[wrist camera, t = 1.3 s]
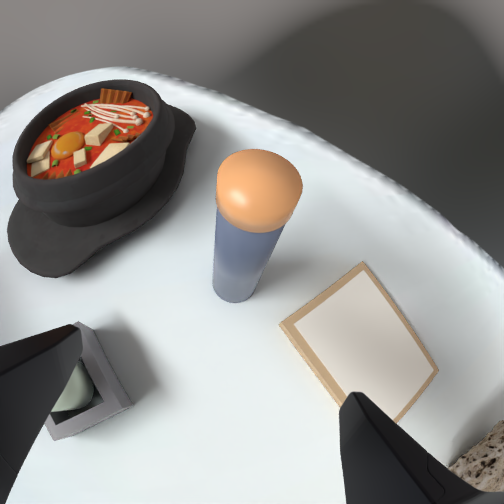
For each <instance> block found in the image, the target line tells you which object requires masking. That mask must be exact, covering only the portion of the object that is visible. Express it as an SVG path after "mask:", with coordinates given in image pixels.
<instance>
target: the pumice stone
mask: <svg viewBox="0 0 504 504" xmlns="http://www.w3.org/2000/svg"><path fill="white" fill-rule="evenodd" d="M448 469H449V470H450V471H452V472H453V473H454V474H456V475H457V476H459V477H460V478H461V479H463V480H464V481H466V482H467V483H469V484H470V485H472V486H473V487H475V488H476V489H479V490H481V491H486V492H500V491H504V420H502V421H499V422H498V423H497V424H496V425H495V426H494V428H493V429H492V432H489V433H488V434H487V435H486V437H485V438H483V440H482V441H481V442H479V443H478V444H477V445H475V446H473V447H472V448H471V449H470V450H469V451H468V452H467V453H466V454H464V455H462V456H461V457H460V458H459V459H458V460H457V462H456V463H455V464H453V465H452V466H450V467H448Z"/></svg>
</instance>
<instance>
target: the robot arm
mask: <svg viewBox="0 0 504 504" xmlns="http://www.w3.org/2000/svg"><path fill="white" fill-rule="evenodd" d="M82 352H83V342H82V333H81V329H80V328H79V327H76V326H74V325H72V324H68V325H65V326H62V327H59V328H56V329H53V330H50V331H47V332H43V333H40V334H37V335H34V336H31V337H28V338H25V339H22V340H18V341H15V342H12V343H9V344H6V345H3V346H0V504H5V503H6V500H7V498H8V496H9V493H10V491H11V489H12V487H13V484H14V482H15V480H16V478H17V476H18V473H19V471H20V469H21V467H22V465H23V463H24V461H25V459H26V457H27V455H28V453H29V451H30V449H31V447H32V445H33V443H34V441H35V439H36V438H37V436H38V434H39V432H40V430H41V428H42V427H43V425H44V423H45V421H46V420H47V418H48V416H49V414H50V413H51V411H52V409H53V407H54V406H55V404H56V402H57V401H58V399H59V397H60V396H61V394H62V392H63V391H64V389H65V387H66V385H67V383H68V381H69V379H70V377H71V375H72V373H73V371H74V369H75V367H76V365H77V363H78V361H79V359H80V357H81V355H82ZM339 426H340V453H341V461H342V469H343V477H344V486H345V495H346V504H504V491H500V492H486V491H481V490H479V489H476V488H475V487H473V486H472V485H470V484H469V483H467V482H466V481H464V480H463V479H461V478H460V477H459V476H457V475H456V474H454V473H453V472H452V471H450V470H449V469H448V468H446V467H445V466H444V465H442V464H441V463H440V462H439V461H438V460H436V459H435V458H434V457H433V456H432V455H431V454H430V453H427V451H426V450H425V449H424V448H423V447H422V446H421V445H419V444H418V443H417V442H416V441H415V440H414V439H413V438H412V437H411V436H410V435H408V434H407V433H406V432H405V431H404V430H403V429H402V428H401V427H400V426H399V425H397V424H396V423H395V422H394V421H393V420H392V419H391V418H390V417H389V416H388V415H387V414H385V413H384V412H383V411H382V410H381V409H380V408H379V407H378V406H377V405H376V404H375V403H374V402H373V401H372V400H370V399H369V398H368V397H367V396H366V395H365V394H364V393H363V392H355V391H353V392H350V393H349V395H348V396H347V398H346V399H345V401H344V403H343V404H342V406H341V407H340V410H339Z"/></svg>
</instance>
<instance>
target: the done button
mask: <svg viewBox="0 0 504 504" xmlns="http://www.w3.org/2000/svg"><path fill="white" fill-rule="evenodd" d="M93 391H94V386H93V380H92V378H91V376H90V374H89V372H88V370H87V368H86V367H85V366H84V365H83V364H82V363H80V362H78V363H77V365H76V367H75V369H74V371H73V373H72V375H71V377H70V379H69V381H68V383H67V385H66V387H65V389H64V391H63V392H62V394H61V396H60V397H59V399H58V401H57V402H56V404H55V406H54V407H53V409H52V411H51V412H54V411H64V410H73V409H80V408H83V407H85V406H86V405H87V404H88V403H89V402H90V400H91V398H92V396H93Z"/></svg>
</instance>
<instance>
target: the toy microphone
mask: <svg viewBox="0 0 504 504" xmlns="http://www.w3.org/2000/svg"><path fill="white" fill-rule="evenodd" d="M302 189H303V184H302V179H301V176H300V174H299V172H298V171H297V169H296V168H295V167H294V166H293V165H292V164H291V163H290V162H289V161H288V160H286V159H285V158H283V157H282V156H280V155H278V154H276V153H273V152H270V151H266V150H260V149H248V150H242V151H239V152H236V153H234V154H232V155H230V156H229V157H227V158H226V159H225V160H224V161H223V162H222V164H221V165H220V167H219V169H218V173H217V187H216V204H217V216H216V230H215V246H214V264H213V288H214V290H215V292H216V294H217V295H218V296H219V297H220V298H221V299H223V300H224V301H227V302H230V303H239V302H243V301H245V300H247V299H248V298H249V297H250V296H251V295H252V293H253V292H254V290H255V288H256V285H257V283H258V281H259V279H260V277H261V275H262V273H263V271H264V269H265V266H266V264H267V262H268V260H269V258H270V256H271V254H272V252H273V249H274V247H275V245H276V243H277V241H278V239H279V237H280V234H281V232H282V230H283V228H284V226H285V224H286V223H287V222H288V220H289V219H290V217H291V216H292V214H293V211H294V209H295V207H296V205H297V203H298V201H299V199H300V196H301V194H302Z"/></svg>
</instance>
